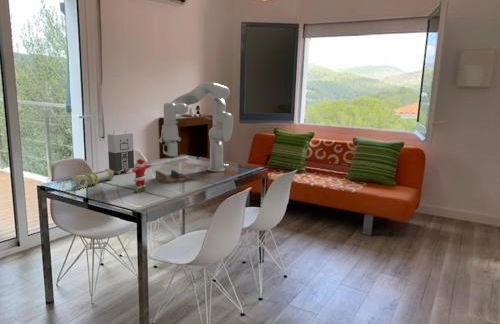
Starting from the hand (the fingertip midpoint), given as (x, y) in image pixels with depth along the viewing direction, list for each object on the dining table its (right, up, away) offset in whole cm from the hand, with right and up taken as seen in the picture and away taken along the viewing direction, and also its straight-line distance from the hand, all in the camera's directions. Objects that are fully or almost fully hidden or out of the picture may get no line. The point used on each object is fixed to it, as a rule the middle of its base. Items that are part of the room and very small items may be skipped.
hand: (170, 151), depth 238 cm
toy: (-38, -15, +20) cm, 45 cm away
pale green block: (0, -2, 0) cm, 2 cm away
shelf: (+1, -18, +5) cm, 19 cm away
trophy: (-44, -21, -13) cm, 50 cm away
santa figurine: (-11, -24, -25) cm, 37 cm away
